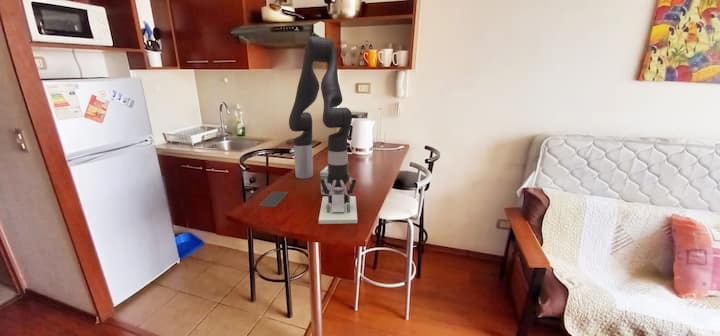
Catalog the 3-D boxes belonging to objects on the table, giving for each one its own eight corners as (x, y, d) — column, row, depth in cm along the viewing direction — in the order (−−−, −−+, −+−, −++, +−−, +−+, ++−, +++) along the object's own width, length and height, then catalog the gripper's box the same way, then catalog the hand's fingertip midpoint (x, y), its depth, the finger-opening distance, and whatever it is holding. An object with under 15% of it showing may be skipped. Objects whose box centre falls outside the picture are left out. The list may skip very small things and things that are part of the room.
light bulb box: (334, 196, 135) (334, 173, 131) (320, 194, 136) (319, 172, 133) (341, 187, 145) (340, 166, 141) (327, 186, 146) (326, 165, 143)
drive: (333, 199, 125) (333, 183, 123) (344, 199, 126) (344, 183, 123) (332, 212, 114) (331, 194, 112) (344, 211, 114) (344, 194, 112)
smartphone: (258, 205, 124) (272, 191, 138) (258, 207, 124) (273, 193, 138) (275, 206, 123) (288, 192, 137) (275, 208, 123) (288, 194, 137)
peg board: (322, 199, 131) (322, 190, 129) (355, 199, 131) (355, 189, 130) (318, 223, 110) (318, 212, 108) (357, 223, 110) (357, 212, 109)
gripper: (356, 158, 118) (356, 199, 123) (319, 158, 118) (321, 199, 123) (357, 164, 111) (357, 206, 116) (318, 164, 110) (319, 207, 116)
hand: (338, 202), depth 119 cm, fingers closed on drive, 4 cm apart
